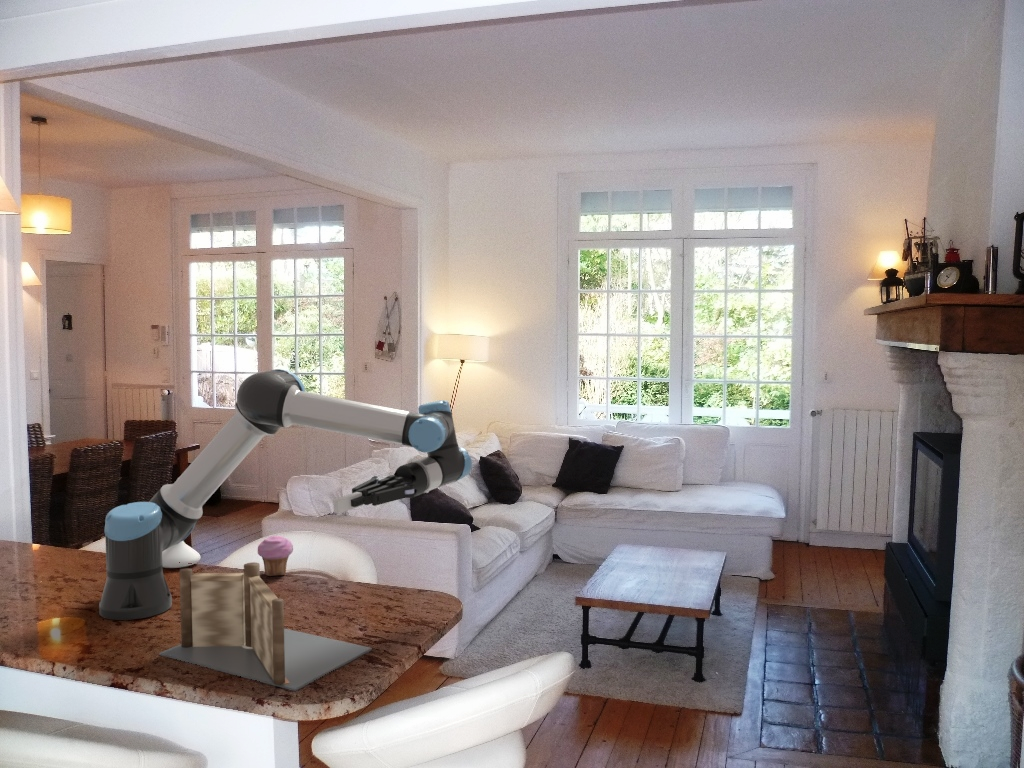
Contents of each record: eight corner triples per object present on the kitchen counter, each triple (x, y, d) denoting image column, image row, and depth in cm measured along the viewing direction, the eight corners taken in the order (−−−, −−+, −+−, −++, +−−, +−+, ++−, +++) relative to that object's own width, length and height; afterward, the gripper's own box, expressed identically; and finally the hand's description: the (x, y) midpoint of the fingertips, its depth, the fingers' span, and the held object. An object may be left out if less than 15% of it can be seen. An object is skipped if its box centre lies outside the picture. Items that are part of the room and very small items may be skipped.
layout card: (159, 654, 170) (159, 652, 170) (243, 620, 189) (243, 618, 189) (295, 691, 153) (295, 688, 153) (372, 649, 172) (371, 647, 172)
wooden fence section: (179, 648, 172) (177, 567, 171) (184, 642, 175) (182, 562, 174) (258, 647, 173) (257, 566, 171) (262, 641, 176) (261, 562, 174)
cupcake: (257, 580, 219) (257, 541, 218) (258, 570, 227) (257, 533, 227) (294, 577, 221) (293, 538, 221) (293, 568, 230) (292, 531, 229)
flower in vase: (155, 573, 224) (153, 478, 223) (154, 562, 235) (152, 471, 233) (209, 568, 230) (206, 474, 228) (205, 557, 240) (203, 468, 238)
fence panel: (250, 646, 172) (248, 572, 171) (260, 644, 173) (258, 571, 172) (275, 685, 154) (273, 602, 152) (286, 683, 154) (284, 601, 153)
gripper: (439, 498, 193) (358, 530, 175) (398, 488, 201) (317, 518, 183) (437, 466, 191) (355, 494, 173) (396, 457, 199) (314, 484, 181)
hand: (336, 506), depth 178 cm, fingers closed
